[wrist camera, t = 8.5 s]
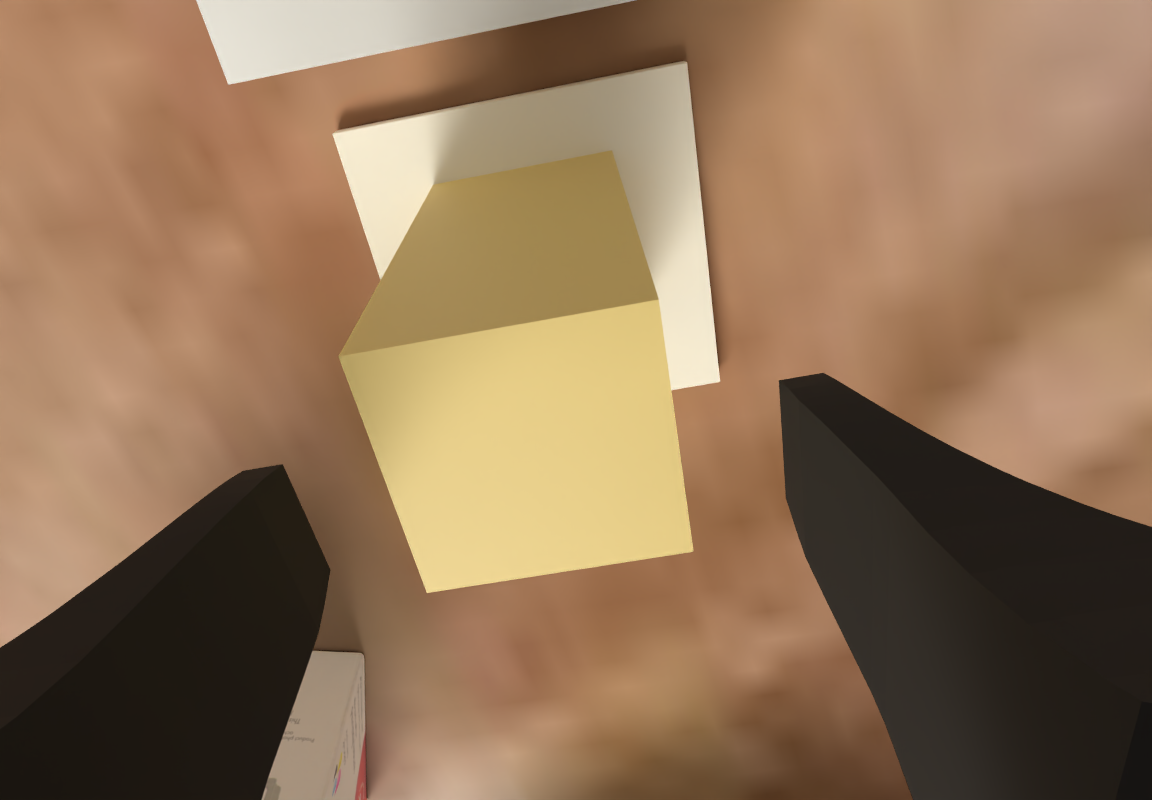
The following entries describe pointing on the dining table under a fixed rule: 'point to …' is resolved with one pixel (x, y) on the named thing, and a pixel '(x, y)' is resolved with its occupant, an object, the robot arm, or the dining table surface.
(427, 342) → the block
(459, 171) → the mat
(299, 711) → the ink cartridge box
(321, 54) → the holder
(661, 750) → the dining table surface
